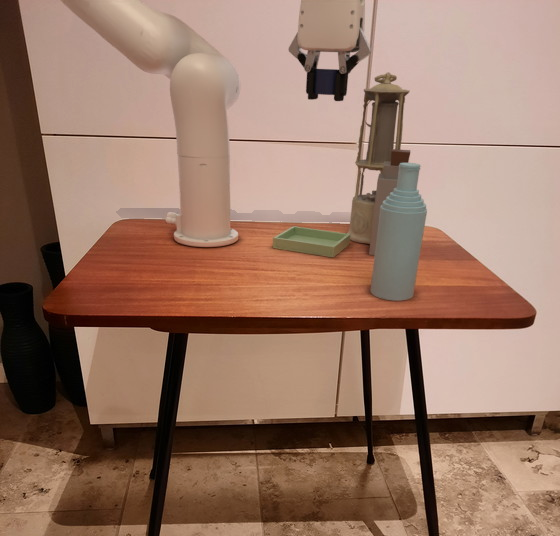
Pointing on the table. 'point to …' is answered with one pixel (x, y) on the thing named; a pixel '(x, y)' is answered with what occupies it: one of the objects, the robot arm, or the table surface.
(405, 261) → the bottle
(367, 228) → the lamp
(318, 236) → the tray
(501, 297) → the table surface
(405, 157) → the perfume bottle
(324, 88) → the cap
